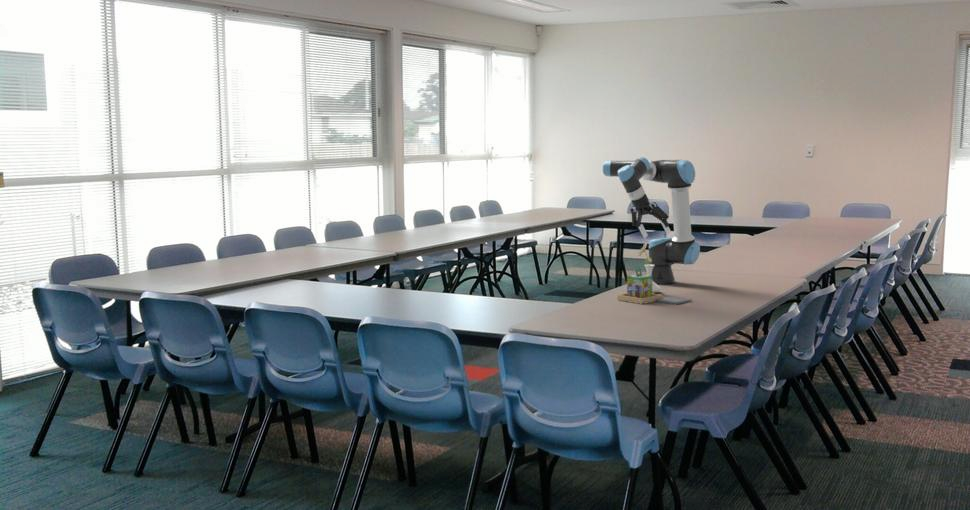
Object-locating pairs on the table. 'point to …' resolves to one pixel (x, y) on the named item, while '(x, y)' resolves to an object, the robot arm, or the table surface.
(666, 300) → the charcoal mat
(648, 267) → the flower in vase
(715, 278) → the table surface
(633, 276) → the chalk box
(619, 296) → the light wooden square frame
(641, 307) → the table surface
